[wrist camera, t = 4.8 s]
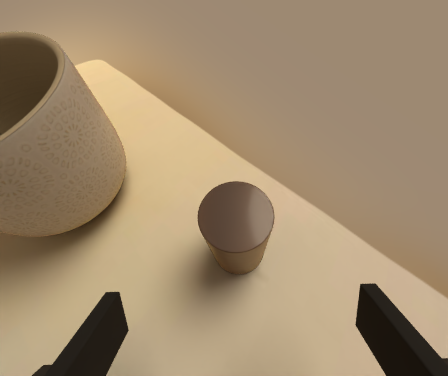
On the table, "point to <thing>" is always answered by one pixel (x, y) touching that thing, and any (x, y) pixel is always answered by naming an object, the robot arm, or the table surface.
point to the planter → (51, 141)
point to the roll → (236, 225)
